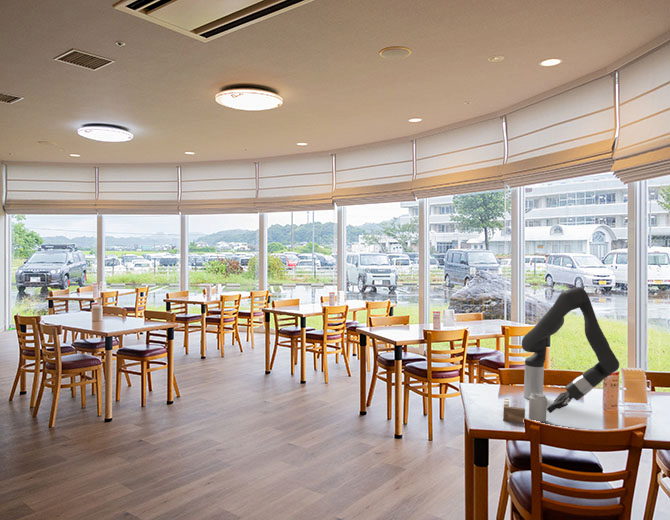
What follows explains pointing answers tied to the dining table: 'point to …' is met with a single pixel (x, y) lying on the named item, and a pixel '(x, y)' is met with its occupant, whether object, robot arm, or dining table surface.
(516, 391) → the dining table surface
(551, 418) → the dining table surface
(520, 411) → the corner stop
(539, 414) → the can
